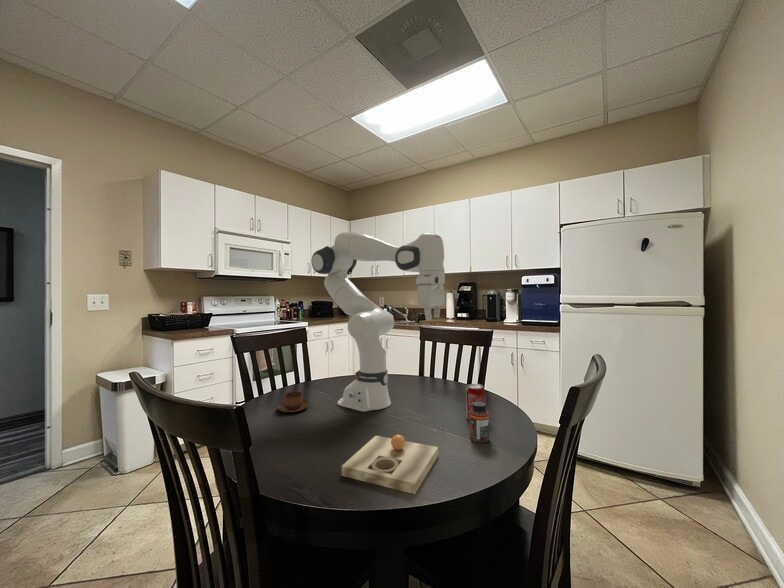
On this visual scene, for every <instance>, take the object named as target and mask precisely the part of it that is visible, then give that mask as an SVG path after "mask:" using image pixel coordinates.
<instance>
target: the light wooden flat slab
mask: <svg viewBox="0 0 784 588" xmlns="http://www.w3.org/2000/svg"><path fill="white" fill-rule="evenodd" d="M392 438H393V437H392ZM392 438H391V437H385V436H382V435H381V436H380V435H375V436H374V437H372V438H371V439H370V440H368V441H367V443H365V444H364V445H363V446H362V447H361V448H360V449H359V450H357V451H356V452H355V453H354V454H353V455H352V456H351V457H350V458H349V459H347V461H345V463H343V464H342V465H341V477H346V478H350V479H353V480H357V481H362V482H365V483H369V484H373V485H376V486H382V487H385V488H389V489H392V490H396V491H400V492H404V493H407V492H408V493H407V494H411V493H413V494H412V495H416V493H417V492H418V490H419V489H420V486H421V485H422V483H423V481H425V479H426V477H427V475H428V474H429V472H430V470H431V469H432V467H433V466H434V464H435V462H436V461H437V458H439V447H438V446H434V445H429V444H423V443H418V442H412V441H407V440H405V446H404V447H403V449H401V450H395V449H394V448H393V447H392V445H391V439H392Z"/></svg>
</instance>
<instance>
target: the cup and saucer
mask: <svg viewBox="0 0 784 588" xmlns="http://www.w3.org/2000/svg"><path fill="white" fill-rule="evenodd" d="M303 395H304V394H303V392H301V391H290V392H287V393H284V394H283V402H281V403H279V404H278V405H277V409H278V410H279V411H280V412H283V413H288V412H290V413H298V412H301V411H303V410H305V409H307V407H308V406H309V401H307V400H304V399H303V397H304V396H303ZM302 405H304V406H305V407H304V408H301V409H299V408H300V407H301V406H302ZM282 406H284V407H285V408H286V409H288V410H281V409H280V408H281V407H282ZM297 411H298V412H297Z"/></svg>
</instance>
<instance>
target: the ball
mask: <svg viewBox="0 0 784 588" xmlns="http://www.w3.org/2000/svg"><path fill="white" fill-rule="evenodd" d="M405 441H406V439H405V438H404V436H403V435H401V434H395V435H393V436H392V439H391V445H392V447H393V448H394V449H395V450H401V449H403V447H404V446H405Z"/></svg>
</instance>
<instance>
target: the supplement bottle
mask: <svg viewBox="0 0 784 588" xmlns="http://www.w3.org/2000/svg"><path fill="white" fill-rule="evenodd" d="M486 405H487V404H486V402H485V403H483V402H473V406H472V407H473V408H472V409H471V410H470V419H469V438H470V440H471V441H473V442H476V443H480V444H481V443H488V442H489V440H490V412H489V411H488V409H486V408H487V406H486Z"/></svg>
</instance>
